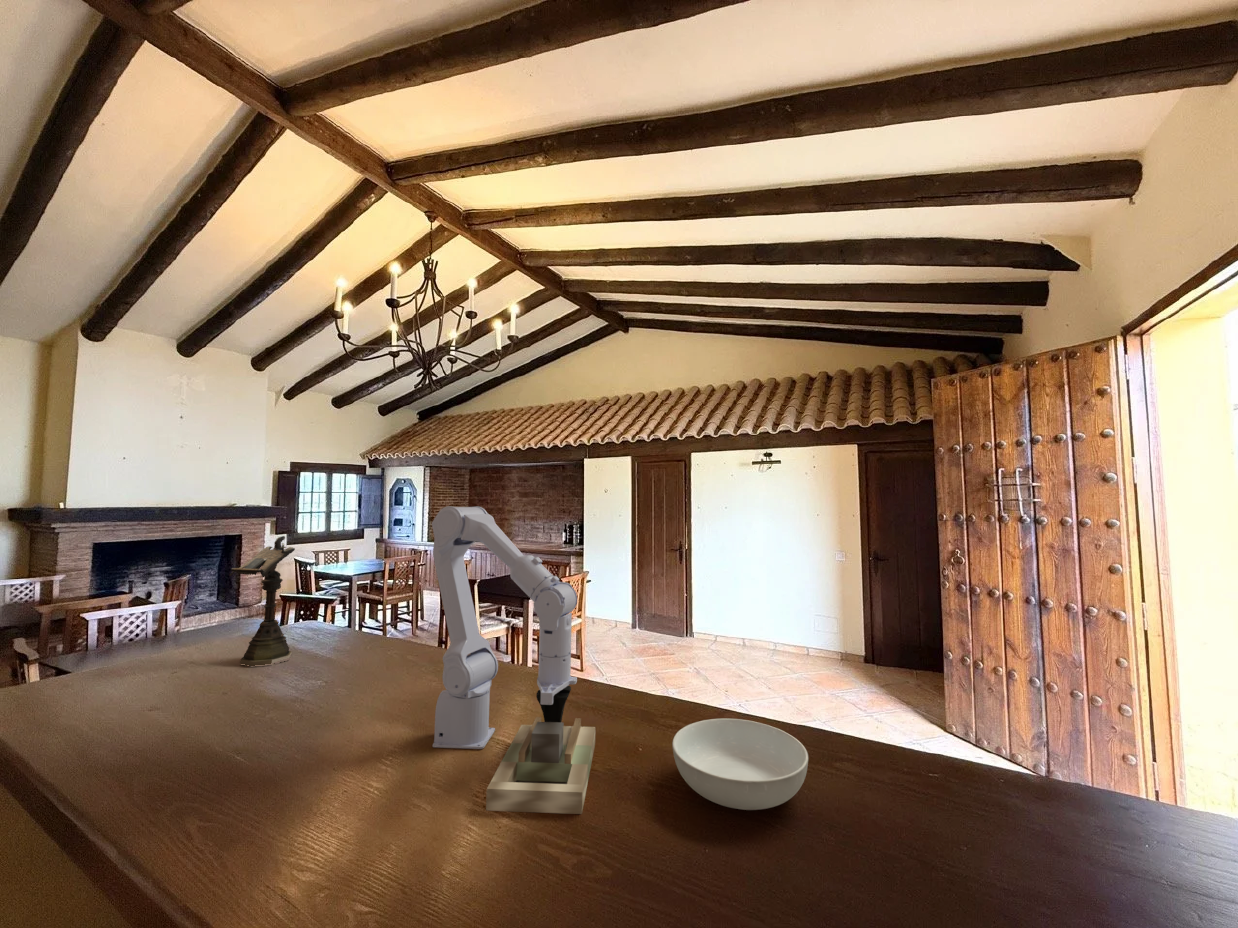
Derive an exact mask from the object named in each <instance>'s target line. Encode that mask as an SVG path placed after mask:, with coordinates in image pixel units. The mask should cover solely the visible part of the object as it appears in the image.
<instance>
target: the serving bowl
mask: <svg viewBox="0 0 1238 928" xmlns="http://www.w3.org/2000/svg"><path fill="white" fill-rule="evenodd" d="M671 744H672V752H673V757H674V761H675V765H676V768H677V769H678V772H679V774H680V776H681V777H682V779H684V781H685V783H686V784H687V785H688V787H690V788H691V789H692V790H693V791H695V793H697V794H699V796H700V797H701V796H702V797H703V798H704V799H706V800H708V801H711V802H712V803H715V804H718V805H720V806H723V807H727V808H730V809H738V810H744V811H745V810H746V811H758V810H766V809H767V810H768V809H771V808H774V807H778V806H780V805H783V804H784V803H786V802H788V801H789V800H791V799H792V798H793V797H794V796H795V795H796V794H797V793H798V791H799V790H800V789H801V787H802V785H804V784H803V783H804V782H805V779H806V776H807V773H808V772H807V771H808V766H809V765H808V764H809V753H808V750H807V749H806V747H805V746H804V745H803V743H802V742H800V740H798V739H797V737H794V736H793V735H791V734H789V733H788V732H786V731H784V730H782V729H780V728H778V727H774V726H771V725H769V724H765V723H762V722H759V721H758V722H757V721H753V720H748V719H741V718H740V719H739V718H711V719H703V720H700V721H695V722H693V723H689V724H687V725H685V726H684V727H682V728H681V729H679V730H678V731H677V732H676V733H675V734H674V737H673V739H672V743H671Z"/></svg>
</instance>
